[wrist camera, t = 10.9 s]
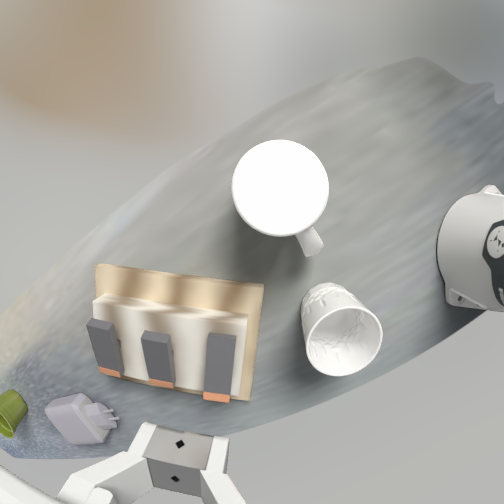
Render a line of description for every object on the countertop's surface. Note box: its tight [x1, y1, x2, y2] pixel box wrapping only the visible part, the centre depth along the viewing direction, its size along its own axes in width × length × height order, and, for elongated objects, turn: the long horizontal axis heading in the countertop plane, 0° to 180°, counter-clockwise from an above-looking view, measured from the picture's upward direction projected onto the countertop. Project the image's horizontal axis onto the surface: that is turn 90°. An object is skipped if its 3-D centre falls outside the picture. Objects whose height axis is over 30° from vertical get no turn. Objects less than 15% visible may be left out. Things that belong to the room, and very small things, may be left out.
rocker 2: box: [140, 330, 176, 388], centre depth 32 cm, size 3×8×2 cm, turn 174°
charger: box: [45, 393, 119, 445], centre depth 41 cm, size 5×9×15 cm
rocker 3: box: [203, 332, 237, 403], centre depth 32 cm, size 3×8×2 cm, turn 174°
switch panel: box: [93, 263, 264, 401], centre depth 36 cm, size 22×17×6 cm
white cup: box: [300, 283, 382, 376], centre depth 33 cm, size 8×8×10 cm
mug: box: [231, 140, 329, 257], centre depth 30 cm, size 8×10×12 cm
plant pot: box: [0, 390, 27, 438], centre depth 40 cm, size 9×9×9 cm
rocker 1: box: [86, 318, 124, 378], centre depth 32 cm, size 3×8×2 cm, turn 174°
